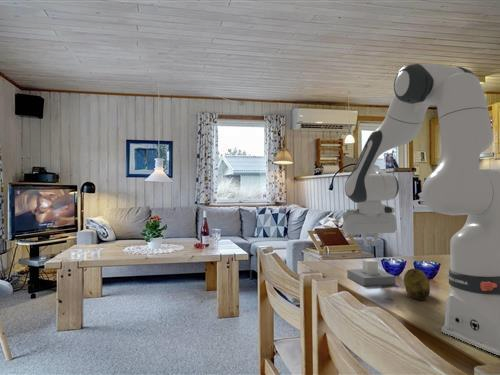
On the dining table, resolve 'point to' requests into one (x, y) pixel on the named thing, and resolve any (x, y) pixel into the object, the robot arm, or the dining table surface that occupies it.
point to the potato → (417, 284)
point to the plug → (370, 266)
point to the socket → (371, 278)
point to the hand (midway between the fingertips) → (369, 245)
